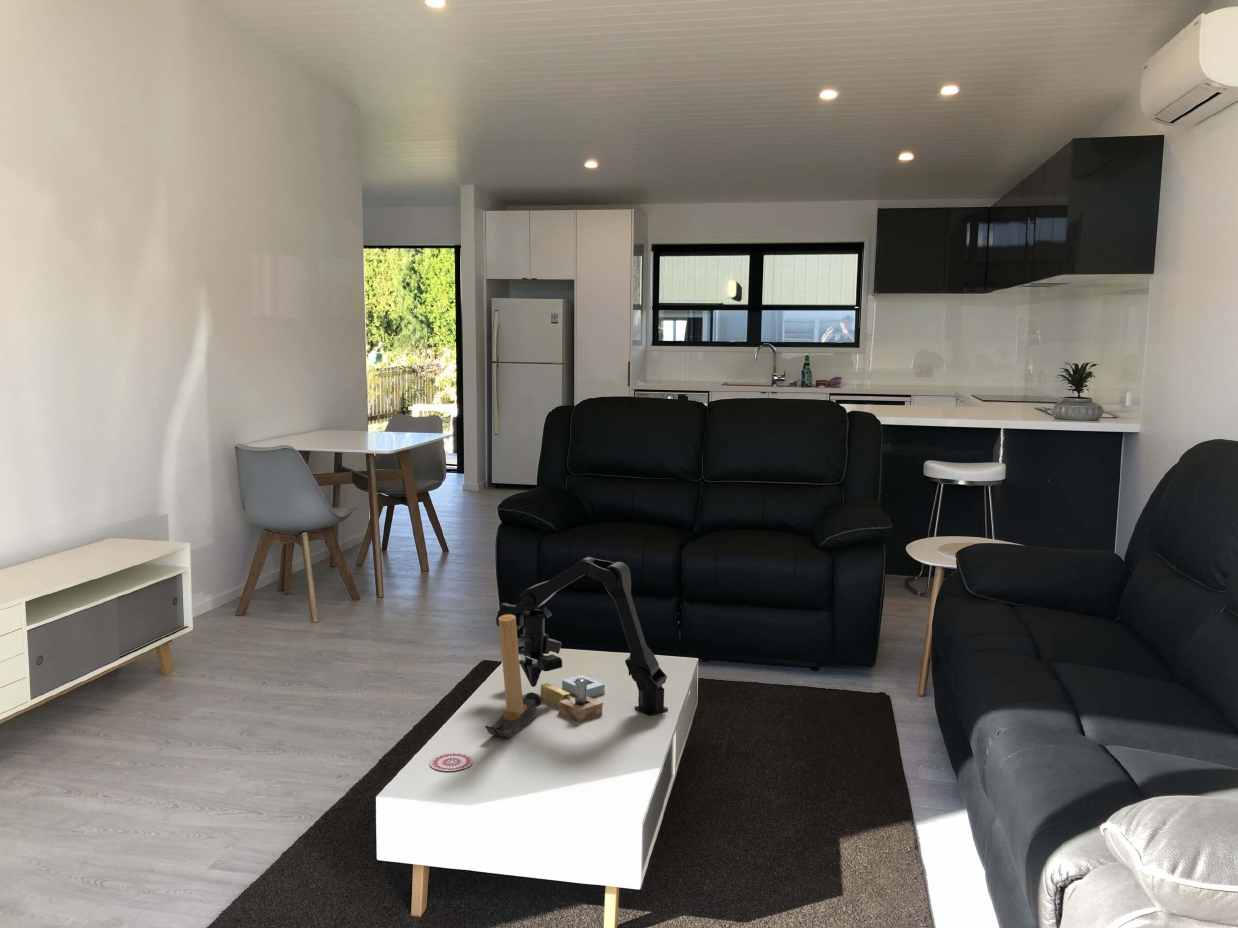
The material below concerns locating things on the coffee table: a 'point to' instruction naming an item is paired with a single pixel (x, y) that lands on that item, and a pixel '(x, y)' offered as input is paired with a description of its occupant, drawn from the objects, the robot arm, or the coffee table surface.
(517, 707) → the hammer
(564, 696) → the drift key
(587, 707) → the socket block
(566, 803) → the coffee table surface
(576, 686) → the peg
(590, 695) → the light blue rectangular frame
